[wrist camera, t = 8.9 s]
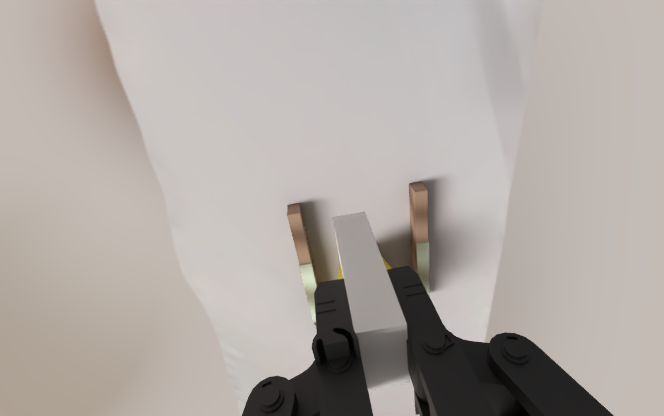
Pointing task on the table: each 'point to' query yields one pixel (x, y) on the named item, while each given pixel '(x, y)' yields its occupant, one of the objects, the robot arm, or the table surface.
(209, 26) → the table surface
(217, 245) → the table surface
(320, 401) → the robot arm
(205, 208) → the table surface
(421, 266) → the pair of brown bars
